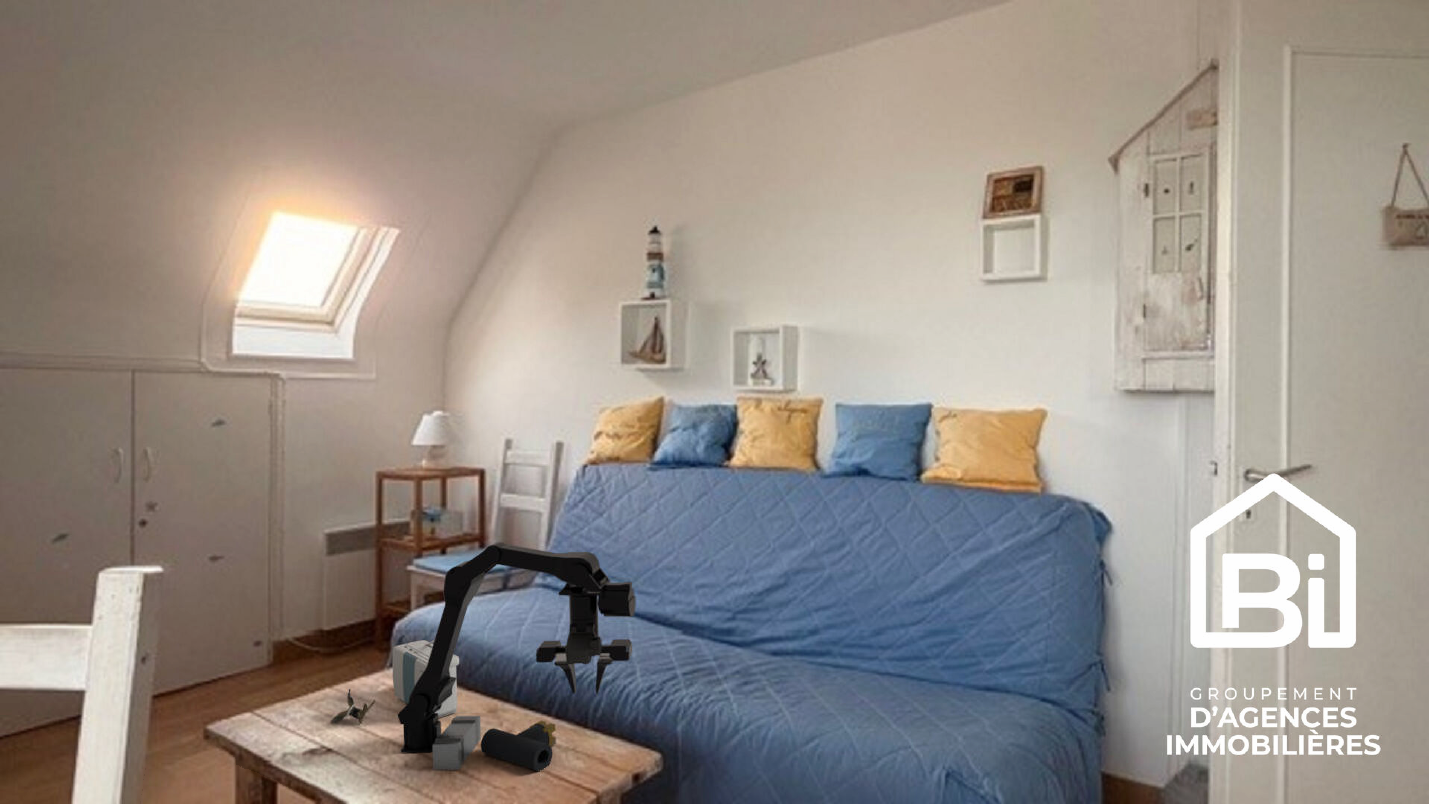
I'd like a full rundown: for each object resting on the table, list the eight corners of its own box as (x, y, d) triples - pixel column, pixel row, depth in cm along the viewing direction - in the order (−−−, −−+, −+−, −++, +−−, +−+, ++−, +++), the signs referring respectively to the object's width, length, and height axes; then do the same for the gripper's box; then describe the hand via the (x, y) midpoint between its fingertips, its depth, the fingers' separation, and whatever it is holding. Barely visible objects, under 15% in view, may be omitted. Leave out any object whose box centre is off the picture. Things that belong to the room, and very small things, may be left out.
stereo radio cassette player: (392, 700, 195) (389, 617, 195) (425, 691, 200) (423, 611, 200) (427, 724, 179) (425, 635, 179) (462, 713, 185) (460, 627, 185)
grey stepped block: (433, 770, 157) (432, 742, 157) (457, 739, 171) (456, 714, 171) (458, 769, 157) (458, 742, 156) (480, 739, 171) (480, 713, 170)
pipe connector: (522, 712, 172) (574, 726, 163) (523, 737, 172) (575, 752, 163) (480, 733, 162) (533, 749, 154) (481, 759, 162) (534, 776, 154)
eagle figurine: (382, 710, 185) (354, 698, 189) (370, 691, 181) (343, 679, 185) (357, 739, 179) (329, 725, 183) (345, 720, 175) (317, 706, 179)
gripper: (528, 628, 155) (530, 709, 155) (624, 626, 155) (626, 707, 155) (541, 613, 166) (543, 688, 166) (631, 611, 166) (633, 686, 166)
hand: (585, 692), depth 163 cm, fingers open, 4 cm apart
